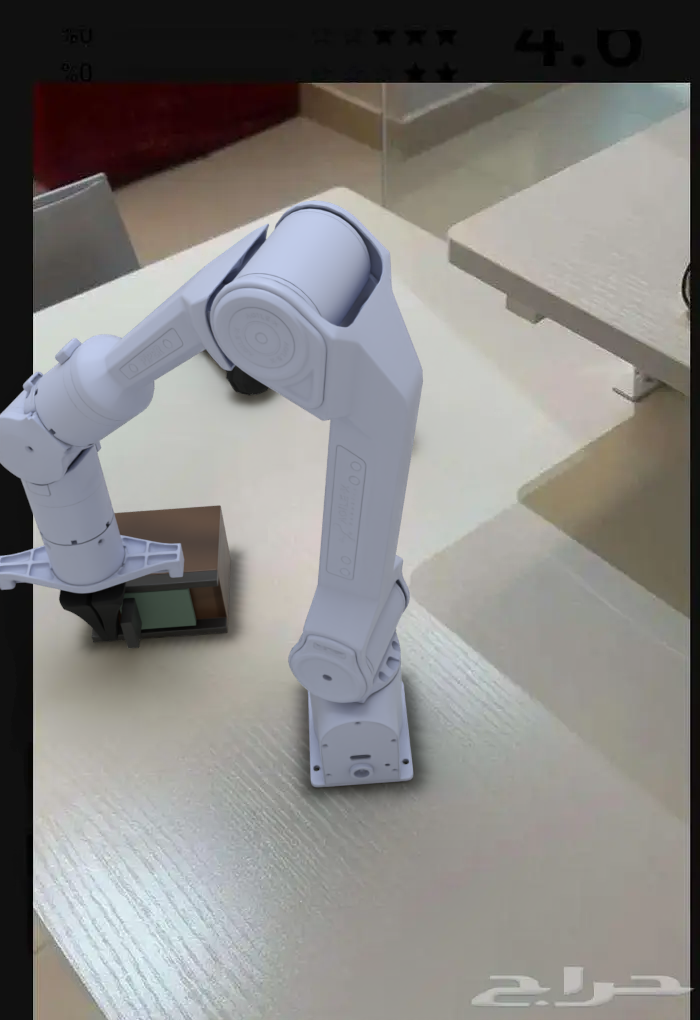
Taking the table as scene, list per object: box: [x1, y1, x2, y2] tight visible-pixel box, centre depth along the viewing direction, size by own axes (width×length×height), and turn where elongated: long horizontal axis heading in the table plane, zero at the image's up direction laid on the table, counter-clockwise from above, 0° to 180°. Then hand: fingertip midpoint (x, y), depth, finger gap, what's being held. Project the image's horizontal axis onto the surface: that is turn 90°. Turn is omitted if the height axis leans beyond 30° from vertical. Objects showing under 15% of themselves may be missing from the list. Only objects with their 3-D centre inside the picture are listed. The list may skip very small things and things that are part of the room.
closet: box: [90, 504, 232, 643], centre depth 95 cm, size 9×12×7 cm
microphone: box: [226, 365, 270, 396], centre depth 122 cm, size 6×6×20 cm
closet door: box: [120, 588, 196, 649], centre depth 91 cm, size 3×6×5 cm, turn 93°
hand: (111, 632), depth 90 cm, fingers closed, pressing on closet
